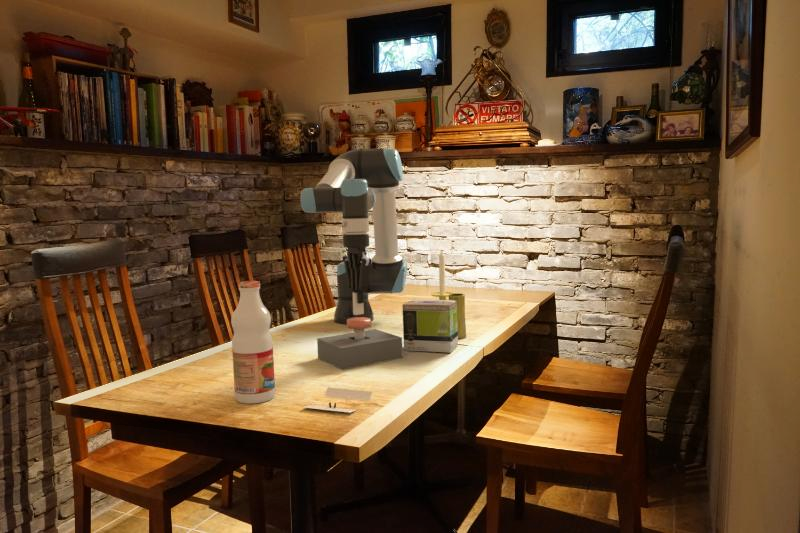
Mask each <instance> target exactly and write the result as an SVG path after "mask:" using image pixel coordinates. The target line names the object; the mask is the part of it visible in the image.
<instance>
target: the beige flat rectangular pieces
mask: <svg viewBox="0 0 800 533" xmlns="http://www.w3.org/2000/svg"><path fill="white" fill-rule="evenodd" d="M372 394H373V391H369V390H359V389H358V390H357V389H347V388H338V387H337V388H335V387H327V388H326V390H325V394H324V397H327V398H339V399H349V400H356V401H358V400H359V401H366V402H367V401H368V402H370V401H371V397H372ZM304 408H305V409H312V410H313V409H315V410H322V411H332V412H339V413H340V412H343V413H353V412H356V411H357V409H351V408H348V409H347V408H340V407H337V403H336V402H335V403H334V404H333V407H332V403H331V402H330V401H329V402H328V406H322V405H321V406H320V405H307V406H303V409H304Z"/></svg>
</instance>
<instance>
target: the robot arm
mask: <svg viewBox="0 0 800 533" xmlns="http://www.w3.org/2000/svg"><path fill="white" fill-rule="evenodd" d="M403 176H404V173H403V163H402V160H401V156H400V154H399V151H398V150H397V149H395V148H390V147H389V148H387V147H383V148H382V147H381V148H367V149H363V148H362V149H352V150H349V151H346V152H344V153H342V154H340V155H338V156H337V157H336V158H335V159H333V160H332V161H331V163H329V166H328V169H327V172H326V173H325V175H324V176H323V177H322V178H321V180H319V182H318V183H317V184H316V186H315V187H307V188H306V187H305V188H303V189H302V190H301V193H300V206H301V209H302V211H303V212H304V213H309V214H310V213H311V214H313V213H314V214H320V213H322V214H323V213H325V214H326V213H342V215H341V216H342V223H341V225H342V232H343V233H344V234H343V235H342V246H343V247H344V248H346V249H347V250H346V255H343V256H342V261H341V262H340V263H338V264H337V266H336V267H337V268H336V280H337V281H336V282H337V283H336V284H337V303H336V308H335V310H334V311H335V312H334V314H333V320H334V323H337V324H345V325H347V319H350V318H356V317H366V318H370V319H371V322H372V321H373V320H374V318H375V317H374V312H373V309H372V306H371V304H370V301H369V294H397V293H398V294H400V293H403V291H404V290H405V287H406V283H407V282H406V281H407V274H408V273H407V272H408V263H407V262H406V261H404V260H403V256H402V255H401V254H399V244H398V243H399V242H398V223H397V205H396V203H397V202H396V190H397V188H399V186H400V182H402V181H403V179H404V177H403ZM370 210H372V219H373V234H374V236H373V238H374V251H375V252H374V254H375V255H374V256H373V257H372V258H368V256H367V250H366V249H367V247H369V246H370V235H369V233H368V232H370V222H369V211H370Z"/></svg>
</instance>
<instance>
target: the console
mask: <svg viewBox="0 0 800 533" xmlns="http://www.w3.org/2000/svg"><path fill="white" fill-rule="evenodd" d="M364 337H365V339H364V340H358V341H355V340H354V332H350V333H349V332H348V333H343V334H337V335H331V336H324V337H319V338H316V342H317V359H318V360H321V361H323V362H326V364H329V365H331V366H333V367H336V368H338V369H340V370H342V371H343V370H348V369H352V368H357V367H362V366H369V365H371V364H372V365H373V364H377V363H381V362H387V361H392V360H396V359H397V360H398V359H402V358H403V337H401V336H398V335H395V334H391V333H389V332H386V331H384V330H379V329H376V328H373V329H368V330H364Z"/></svg>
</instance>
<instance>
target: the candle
mask: <svg viewBox="0 0 800 533" xmlns="http://www.w3.org/2000/svg"><path fill="white" fill-rule="evenodd" d="M445 258H446V255H445V254H444V252H443V249H441V251H440V254H439V255H438V260H439V261H438V266H439V267H438V268H439V270H438V274H439V277H438V278H439V279H438V280H439V292H433V293H431V296H432V297H435V298H436V297H439V298H438V300H447V298H449V294H454V293H455V292H454V293H453V292H448V291H447V292H446V260H445Z"/></svg>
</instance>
